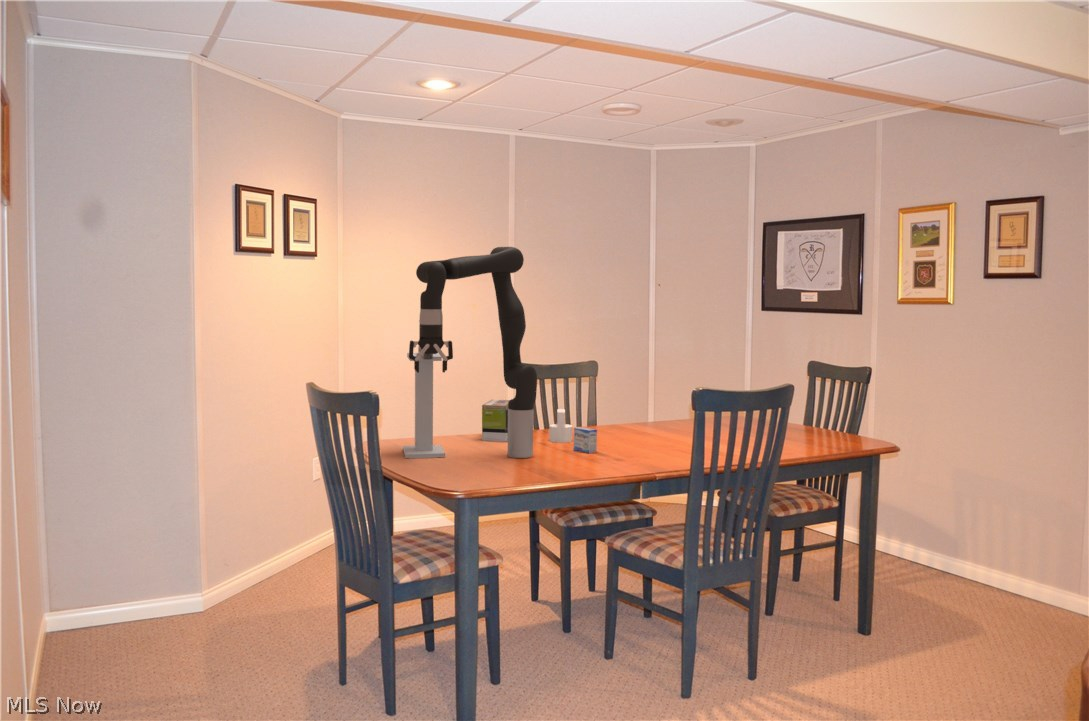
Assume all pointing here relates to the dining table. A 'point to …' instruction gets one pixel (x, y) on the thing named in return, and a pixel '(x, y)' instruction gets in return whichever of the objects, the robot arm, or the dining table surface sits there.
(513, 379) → the robot arm
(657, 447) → the dining table surface
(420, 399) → the pedestal
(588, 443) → the medicine box
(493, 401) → the tea box
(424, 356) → the dark cylinder
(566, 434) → the cylinder with rectangular tab
